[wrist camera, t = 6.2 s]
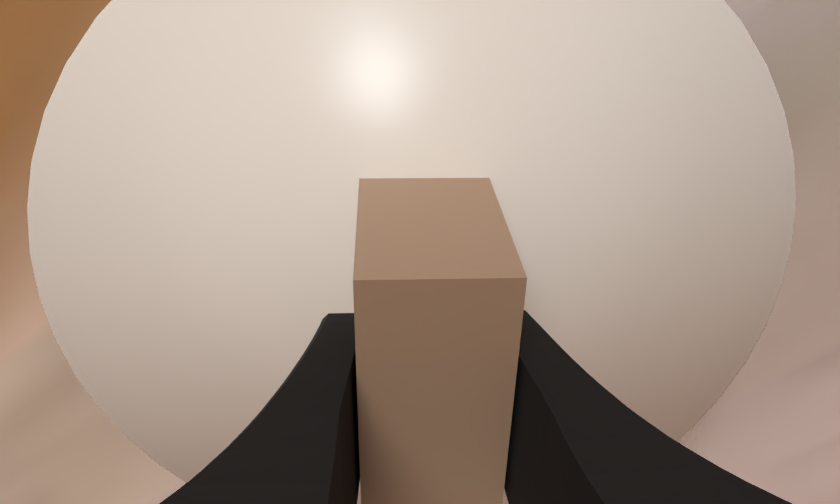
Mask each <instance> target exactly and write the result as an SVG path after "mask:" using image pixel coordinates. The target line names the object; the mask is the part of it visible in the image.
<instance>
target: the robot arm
mask: <svg viewBox="0 0 840 504" xmlns="http://www.w3.org/2000/svg"><path fill="white" fill-rule="evenodd" d="M359 483H360V461H359V433H358V406H357V379H356V351H355V324H354V313H328V314H327V315H326V316H325V317H324V318H323V319H322V321H321V323H320V326H319V328H318V329H317V331H316V333H315V335H314V337H313V339H312V340H311V342H310V344H309V345H308V347H307V348H306V350H305V352H304V353H303V355H302V356H301V358H300V359H299V361H298V362H297V364H296V365H295V367H294V368H293V370H292V371H291V372H290V374H289V375H288V377H287V378H286V380H285V381H284V382H283V384H282V385H281V386H280V388H279V389H278V390H277V391H276V393H275V394H274V395H273V396H272V398H271V399H270V400H269V401H268V403H267V404H266V405H265V406H264V408H263V409H262V410H261V411H260V412H259V414H258V415H257V416H256V417H255V418H254V419H253V420H252V421H251V423H250V424H249V425H248V426H247V427H246V428H245V429H244V430H243V431H242V432H241V433H240V434H239V435H238V436H237V437H236V438H235V439H234V440H233V441H232V443H231V444H230V445H229V446H228V447H226V448H225V449H224V450H223V451H222V452H221V453H220V454H219V455H218V456H217V457H216V458H215V459H213V460H212V461H211V462H210V463H209V464H208V465H207V466H206V467H205V468H204V469H203V470H201V471H200V472H199V473H198V474H197V475H196V476H194V477H193V478H192V479H191V480H190V481H189V482H187V483H186V484H185V485H184V486H182V487H181V488H180V489H179V490H177V491H176V492H175V493H173V494H172V495H171V496H169V497H168V498H167V499H165V500H164V501H163V502H161V503H160V504H357V499H358V491H359ZM504 489H505V492H506V496H507V500H508V503H509V504H792V503H790V502H787V501H785V500H783V499H781V498H779V497H777V496H775V495H773V494H771V493H769V492H767V491H765V490H763V489H760V488H758V487H756V486H754V485H752V484H750V483H748V482H746V481H744V480H742V479H741V478H739V477H737V476H735V475H733V474H731V473H729V472H727V471H725V470H724V469H722V468H720V467H718V466H717V465H715V464H713V463H711V462H710V461H708V460H706V459H705V458H703V457H701V456H700V455H698V454H696V453H694V452H693V451H691V450H689V449H688V448H686V447H684V446H683V445H681V444H680V443H678V442H677V441H675V440H674V439H672V438H670V437H669V436H667V435H666V434H665V433H663V432H662V431H660V430H659V429H657V428H656V427H655V426H653V425H652V424H650V423H649V422H647V421H646V420H645V419H643V418H642V417H640V416H639V415H638V414H636V413H635V412H634V411H632V410H631V409H630V408H628V407H627V406H626V405H625V404H623V403H622V402H621V401H620V400H618V399H617V398H616V397H615V396H614V395H612V394H611V393H610V392H609V391H608V390H606V389H605V388H604V387H603V386H602V385H600V384H599V383H598V382H597V381H596V380H595V379H594V378H593V377H591V376H590V375H589V374H588V373H587V372H586V371H585V370H584V369H583V368H582V367H581V366H580V365H579V364H578V363H576V362H575V361H574V360H573V359H572V358H571V357H570V356H569V355H568V354H567V353H566V352H565V351H564V350H563V349H562V348H561V347H560V346H559V345H558V344H557V343H556V342H555V341H554V340H553V338H552V337H551V336H550V335H549V334H548V333H547V332H546V331H545V330H544V329H543V328H542V327H541V326H540V325H539V324H538V323H537V322H536V321H535V320H534V319H533V318H532V317H531V316H530V315H529V314H528V313H527V311H526V310H524V311H523V320H522V330H521V339H520V348H519V357H518V366H517V375H516V384H515V394H514V403H513V412H512V421H511V430H510V439H509V448H508V458H507V467H506V476H505V485H504Z"/></svg>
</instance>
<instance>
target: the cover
mask: <svg viewBox="0 0 840 504" xmlns="http://www.w3.org/2000/svg"><path fill="white" fill-rule="evenodd" d="M795 207H796V192H795V170H794V156H793V151H792V146H791V141H790V136H789V131H788V126H787V121H786V116H785V112H784V109H783V106H782V104H781V101H780V98H779V96H778V93H777V90H776V88H775V85H774V82H773V80H772V77H771V74H770V72H769V69H768V66H767V65H766V63H765V61H764V59H763V58H762V56H761V54H760V52H759V51H758V49H757V47H756V45H755V44H754V42H753V40H752V39H751V37H750V35H749V33H748V32H747V30H746V28H745V26H744V25H743V23H742V21H741V20H740V19H739V18H738V16H737V15H736V14H735V13H734V12H733V10H732V9H731V8H730V7H729V5H728V4H727V3H726V2H725V1H724V0H112V1H111V2H110V3H109V4H108V5H107V6H106V7H105V8H104V9H103V10H102V11H101V13H100V14H99V15H98V16H97V17H96V18H95V20H94V22H93V23H92V25H91V26H90V28H89V29H88V31H87V32H86V34H85V35H84V37H83V38H82V40H81V41H80V43H79V44H78V46H77V47H76V49H75V50H74V52H73V53H72V55H71V56H70V58H69V59H68V61H67V62H66V64H65V67H64V69H63V71H62V73H61V76H60V78H59V80H58V82H57V85H56V87H55V89H54V91H53V93H52V96H51V98H50V100H49V102H48V105H47V107H46V109H45V111H44V115H43V119H42V123H41V126H40V130H39V134H38V138H37V142H36V146H35V149H34V153H33V157H32V161H31V172H30V183H29V193H28V204H27V216H28V231H29V246H30V257H31V261H32V266H33V270H34V275H35V279H36V284H37V288H38V293H39V297H40V301H41V303H42V306H43V308H44V311H45V314H46V316H47V319H48V321H49V324H50V327H51V329H52V332H53V334H54V337H55V340H56V341H57V343H58V345H59V347H60V349H61V350H62V352H63V354H64V356H65V358H66V359H67V361H68V363H69V365H70V367H71V368H72V370H73V372H74V374H75V376H76V377H77V379H78V380H79V381H80V383H81V384H82V385H83V387H84V388H85V389H86V391H87V392H88V393H89V395H90V396H91V397H92V399H93V400H94V401H95V403H96V404H97V406H98V407H99V408H100V410H101V411H102V412H103V413H104V414H105V415H106V416H107V417H108V418H109V419H110V420H111V421H112V422H113V423H114V424H115V425H116V426H117V427H118V428H119V430H120V431H121V432H122V433H123V434H124V435H125V436H126V437H127V438H128V439H129V440H130V441H131V442H133V443H134V444H135V445H136V446H137V447H139V448H140V449H141V450H142V451H144V452H145V453H146V454H147V455H148V456H150V457H151V458H152V459H153V460H154V461H156V462H157V463H158V464H159V465H161V466H162V467H164V468H165V469H167V470H168V471H170V472H171V473H173V474H174V475H176V476H177V477H179V478H180V479H182V480H183V481H185V482H189V481H190V480H191V479H192V478H193V477H194V476H196V475H197V474H198V473H199V472H200V471H201V470H203V469H204V468H205V467H206V466H207V465H208V464H209V463H210V462H211V461H212V460H213V459H215V458H216V457H217V456H218V455H219V454H220V453H221V452H222V451H223V450H224V449H225V448H226V447H228V446H229V445H230V444H231V443H232V441H233V440H234V439H235V438H236V437H237V436H238V435H239V434H240V433H241V432H242V431H243V430H244V429H245V428H246V427H247V426H248V425H249V424H250V423H251V421H252V420H253V419H254V418H255V417H256V416H257V415H258V414H259V412H260V411H261V410H262V409H263V408H264V406H265V405H266V404H267V403H268V401H269V400H270V399H271V398H272V396H273V395H274V394H275V393H276V391H277V390H278V389H279V388H280V386H281V385H282V384H283V382H284V381H285V380H286V378H287V377H288V375H289V374H290V372H291V371H292V370H293V368H294V367H295V365H296V364H297V362H298V361H299V359H300V358H301V356H302V355H303V353H304V352H305V350H306V348H307V347H308V345H309V344H310V342H311V340H312V339H313V337H314V335H315V333H316V331H317V329H318V328H319V326H320V323H321V321H322V319H323V318H324V317H325V316H326V315H327V314H328V313H354V324H355V351H356V379H357V406H358V433H359V461H360V483H359V491H358V499H357V504H509V503H508V500H507V496H506V492H505V489H504V485H505V476H506V467H507V458H508V448H509V439H510V430H511V421H512V412H513V403H514V394H515V384H516V375H517V366H518V357H519V348H520V339H521V330H522V320H523V311H524V310H526V311H527V313H528V314H529V315H530V316H531V317H532V318H533V319H534V320H535V321H536V322H537V323H538V324H539V325H540V326H541V327H542V328H543V329H544V330H545V331H546V332H547V333H548V334H549V335H550V336H551V337H552V338H553V340H554V341H555V342H556V343H557V344H558V345H559V346H560V347H561V348H562V349H563V350H564V351H565V352H566V353H567V354H568V355H569V356H570V357H571V358H572V359H573V360H574V361H575V362H576V363H578V364H579V365H580V366H581V367H582V368H583V369H584V370H585V371H586V372H587V373H588V374H589V375H590V376H591V377H593V378H594V379H595V380H596V381H597V382H598V383H599V384H600V385H602V386H603V387H604V388H605V389H606V390H608V391H609V392H610V393H611V394H612V395H614V396H615V397H616V398H617V399H618V400H620V401H621V402H622V403H623V404H625V405H626V406H627V407H628V408H630V409H631V410H632V411H634V412H635V413H636V414H638V415H639V416H640V417H642V418H643V419H645V420H646V421H647V422H649V423H650V424H652V425H653V426H655V427H656V428H657V429H659V430H660V431H662V432H663V433H665V434H666V435H667V436H669V437H670V438H672V439H674V440H675V441H677V440H678V439H679V438H681V437H682V436H683V435H684V434H685V433H686V432H687V431H688V430H690V429H691V428H692V427H693V426H694V425H695V424H696V423H697V422H698V421H699V420H700V419H701V418H702V417H703V415H704V414H705V413H706V412H707V411H708V410H709V409H710V408H711V407H712V406H713V404H714V403H715V402H716V401H717V400H718V399H719V398H720V397H721V396H722V394H723V393H724V392H725V390H726V389H727V388H728V386H729V385H730V383H731V382H732V381H733V379H734V378H735V376H736V375H737V374H738V372H739V371H740V370H741V368H742V367H743V365H744V364H745V363H746V361H747V359H748V357H749V356H750V354H751V352H752V350H753V348H754V346H755V345H756V343H757V341H758V339H759V337H760V336H761V334H762V332H763V330H764V328H765V327H766V324H767V322H768V319H769V317H770V314H771V312H772V309H773V307H774V304H775V302H776V299H777V297H778V294H779V292H780V289H781V286H782V282H783V278H784V274H785V270H786V266H787V262H788V258H789V254H790V250H791V246H792V236H793V227H794V217H795Z"/></svg>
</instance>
